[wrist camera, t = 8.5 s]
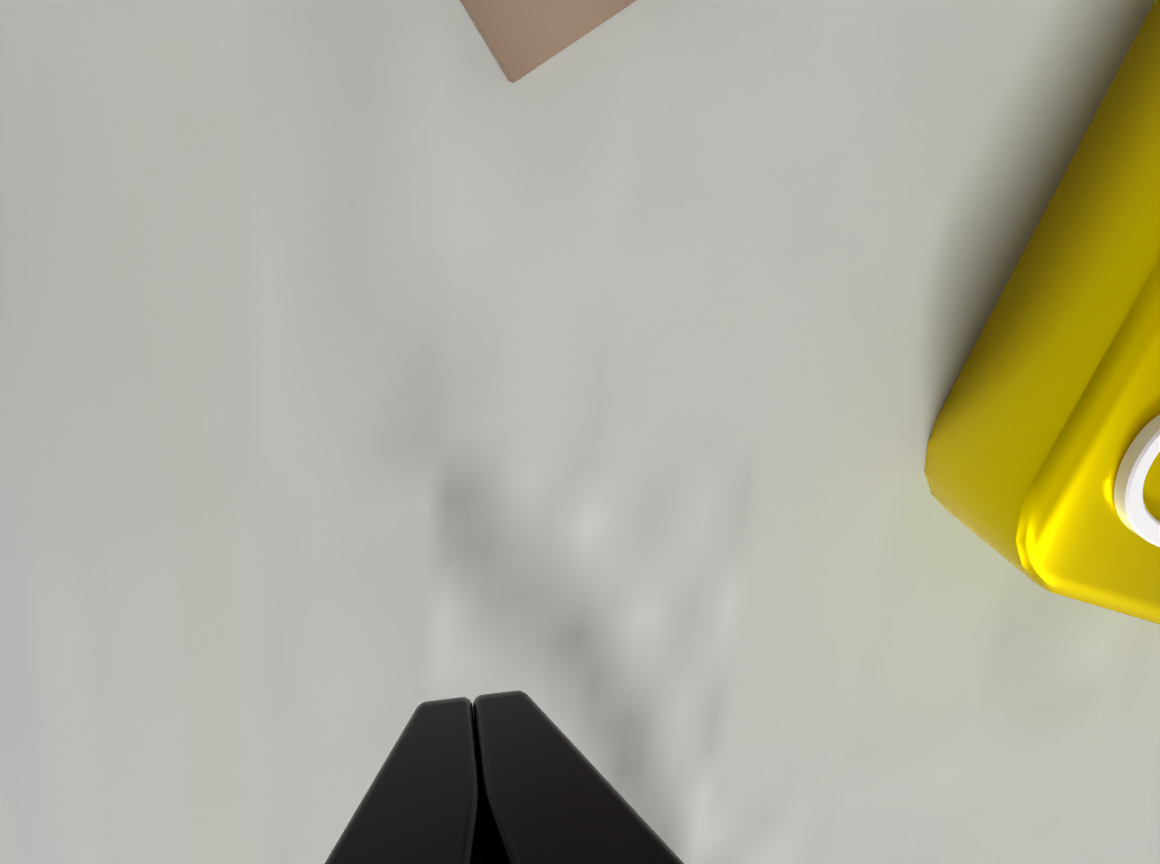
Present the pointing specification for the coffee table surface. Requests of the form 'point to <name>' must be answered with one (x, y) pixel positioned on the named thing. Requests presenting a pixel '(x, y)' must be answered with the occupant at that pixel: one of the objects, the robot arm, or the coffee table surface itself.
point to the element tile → (1074, 373)
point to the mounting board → (535, 28)
